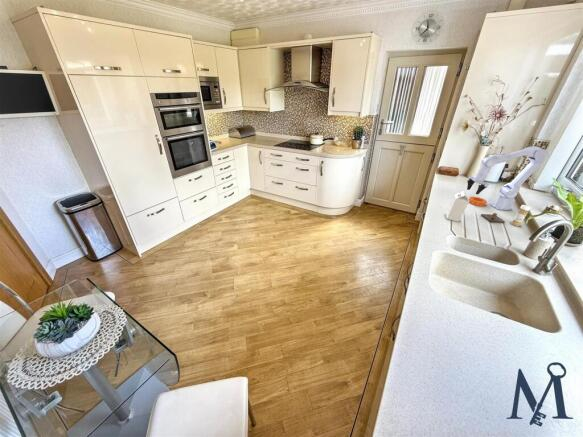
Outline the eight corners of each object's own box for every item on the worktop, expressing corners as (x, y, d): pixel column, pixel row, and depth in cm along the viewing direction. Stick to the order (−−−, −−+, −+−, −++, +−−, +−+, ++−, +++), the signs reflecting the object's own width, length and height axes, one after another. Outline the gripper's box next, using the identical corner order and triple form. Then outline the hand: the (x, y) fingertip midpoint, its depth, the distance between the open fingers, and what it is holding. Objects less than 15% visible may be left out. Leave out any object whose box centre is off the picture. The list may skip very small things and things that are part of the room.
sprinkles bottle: (520, 225, 150) (532, 206, 143) (518, 227, 147) (530, 208, 141) (512, 222, 153) (523, 203, 146) (509, 224, 151) (520, 205, 144)
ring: (479, 200, 182) (480, 196, 180) (488, 206, 172) (490, 203, 171) (465, 199, 182) (466, 196, 180) (473, 205, 172) (475, 202, 171)
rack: (494, 216, 159) (497, 210, 157) (503, 222, 152) (507, 217, 149) (480, 215, 159) (483, 210, 157) (490, 222, 152) (493, 216, 150)
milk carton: (457, 217, 156) (470, 191, 146) (459, 222, 150) (472, 195, 141) (445, 214, 158) (457, 188, 149) (446, 219, 153) (458, 192, 143)
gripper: (468, 170, 169) (460, 187, 176) (486, 178, 157) (476, 196, 164) (476, 170, 170) (467, 187, 177) (494, 178, 158) (484, 196, 165)
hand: (472, 191), depth 171 cm, fingers open, 7 cm apart
